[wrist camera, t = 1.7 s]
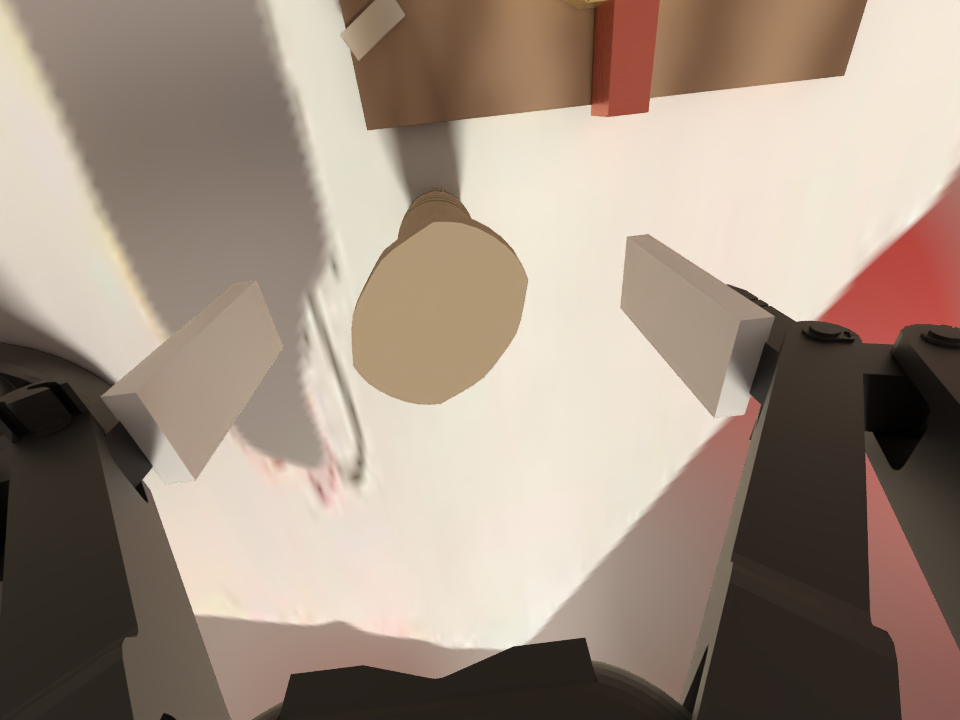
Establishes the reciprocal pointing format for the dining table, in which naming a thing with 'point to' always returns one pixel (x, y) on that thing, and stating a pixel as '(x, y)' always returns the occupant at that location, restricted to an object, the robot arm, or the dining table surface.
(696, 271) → the robot arm
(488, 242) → the handle
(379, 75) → the board
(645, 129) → the dining table surface
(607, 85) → the ring nut
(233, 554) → the dining table surface
